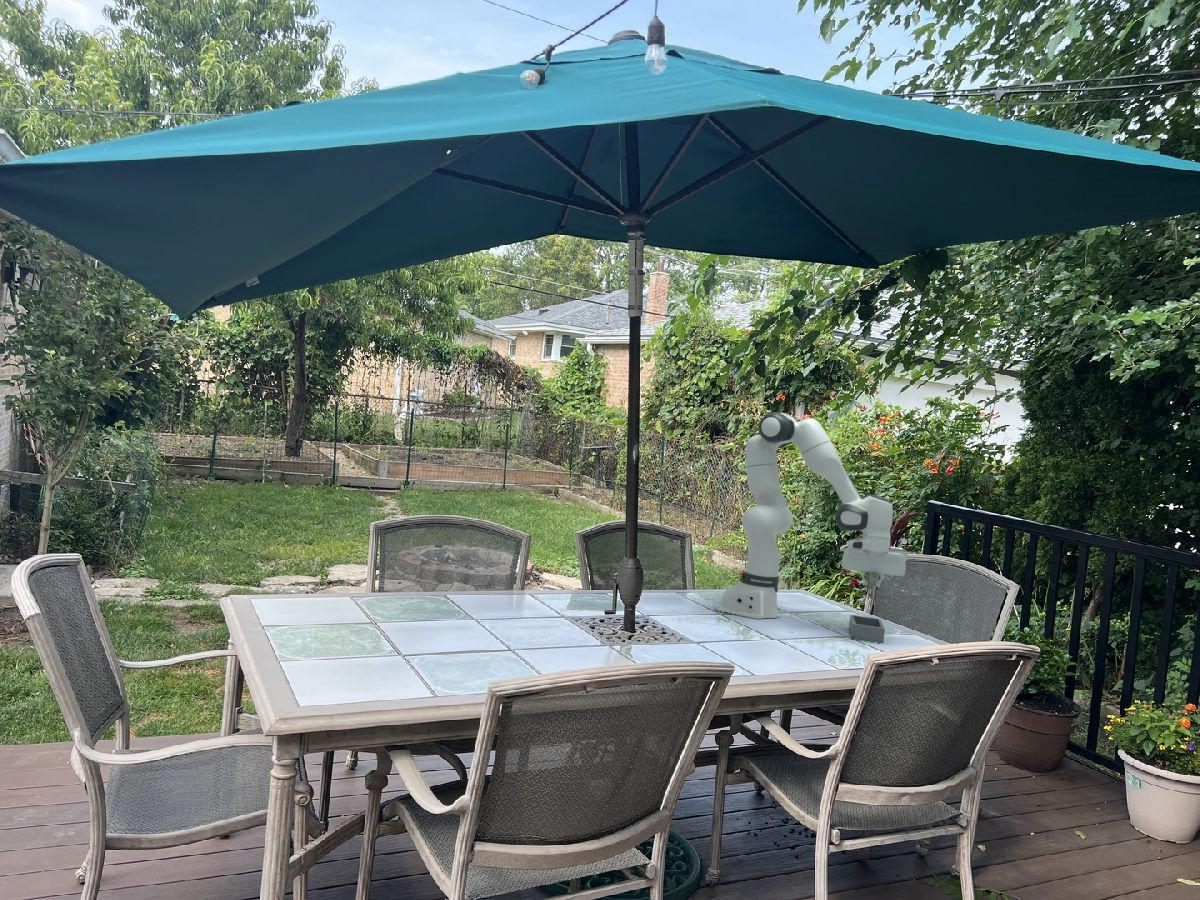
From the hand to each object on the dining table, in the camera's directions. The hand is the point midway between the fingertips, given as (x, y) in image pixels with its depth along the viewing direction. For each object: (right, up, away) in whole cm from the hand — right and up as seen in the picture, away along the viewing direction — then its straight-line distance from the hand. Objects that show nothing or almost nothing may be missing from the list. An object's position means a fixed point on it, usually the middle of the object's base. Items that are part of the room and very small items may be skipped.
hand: (871, 586), depth 282 cm
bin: (-2, -17, +1) cm, 17 cm away
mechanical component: (0, -5, 0) cm, 5 cm away
